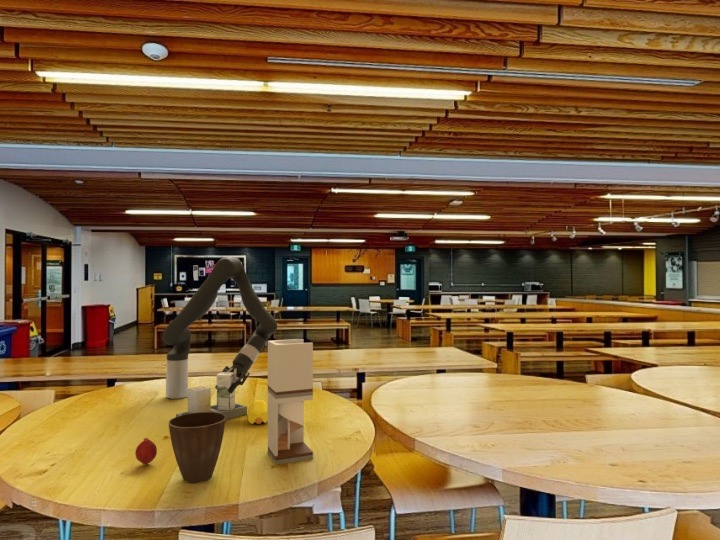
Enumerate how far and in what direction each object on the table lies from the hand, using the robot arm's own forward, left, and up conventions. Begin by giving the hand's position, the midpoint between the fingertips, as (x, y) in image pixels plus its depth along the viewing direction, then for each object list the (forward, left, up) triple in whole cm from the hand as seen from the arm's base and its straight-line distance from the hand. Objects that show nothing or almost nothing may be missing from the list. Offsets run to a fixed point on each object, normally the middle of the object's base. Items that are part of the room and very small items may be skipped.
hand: (223, 390), depth 192 cm
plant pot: (+45, -41, -10) cm, 61 cm away
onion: (+25, -45, -10) cm, 52 cm away
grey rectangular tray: (0, -5, -10) cm, 11 cm away
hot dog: (+15, +5, -10) cm, 19 cm away
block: (0, -11, -10) cm, 15 cm away
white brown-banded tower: (+53, -14, -10) cm, 56 cm away
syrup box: (0, +1, -8) cm, 8 cm away
